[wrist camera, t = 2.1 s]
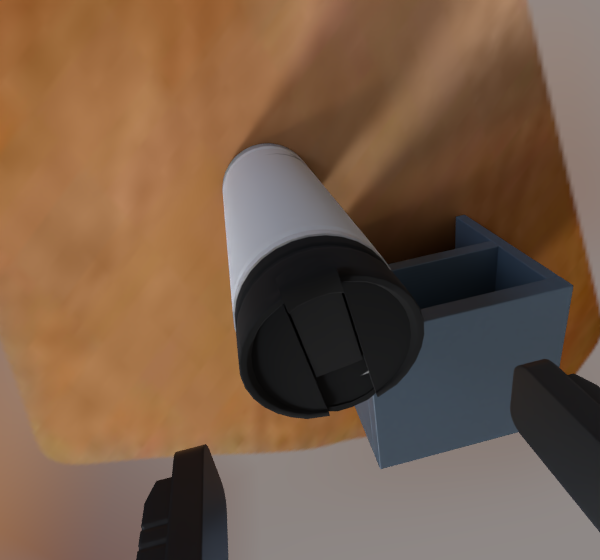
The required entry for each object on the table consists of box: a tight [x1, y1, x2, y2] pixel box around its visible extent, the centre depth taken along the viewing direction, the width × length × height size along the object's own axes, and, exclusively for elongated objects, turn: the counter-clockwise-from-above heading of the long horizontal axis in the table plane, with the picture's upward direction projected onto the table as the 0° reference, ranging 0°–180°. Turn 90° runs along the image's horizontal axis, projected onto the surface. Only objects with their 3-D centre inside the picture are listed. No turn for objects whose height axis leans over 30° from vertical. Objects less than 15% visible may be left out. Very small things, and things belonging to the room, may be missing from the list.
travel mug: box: [223, 143, 424, 419], centre depth 22 cm, size 6×7×20 cm
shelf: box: [355, 215, 573, 469], centre depth 32 cm, size 11×12×12 cm
